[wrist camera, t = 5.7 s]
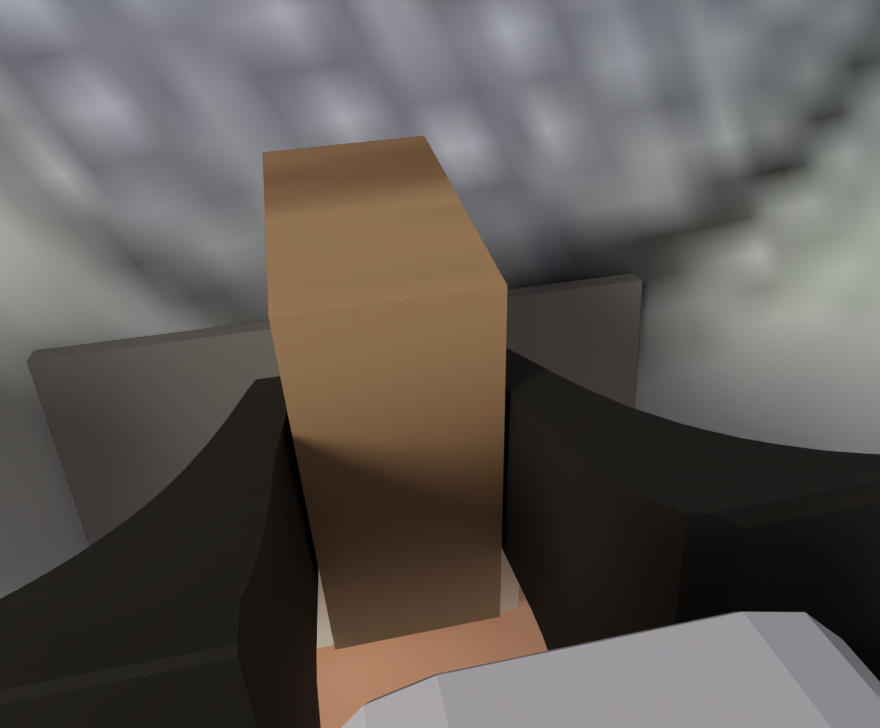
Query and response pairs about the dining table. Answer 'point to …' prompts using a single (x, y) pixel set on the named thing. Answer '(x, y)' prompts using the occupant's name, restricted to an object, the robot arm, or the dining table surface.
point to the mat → (253, 357)
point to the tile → (418, 659)
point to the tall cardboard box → (390, 386)
